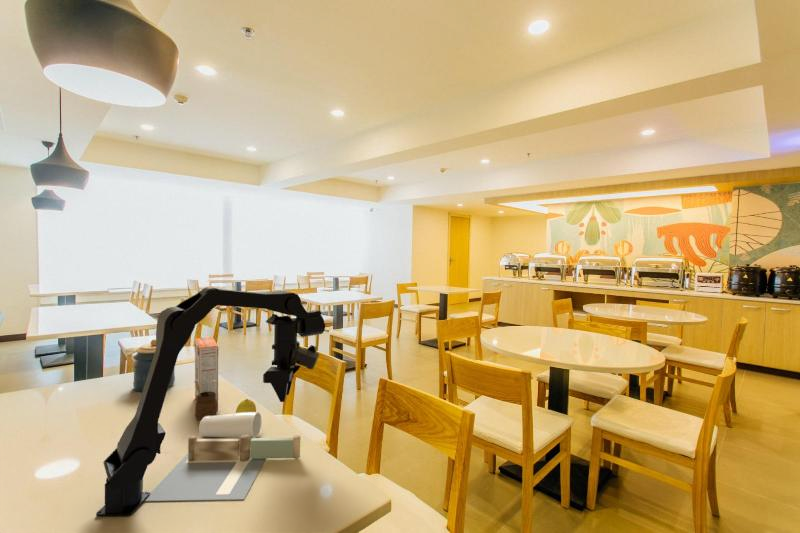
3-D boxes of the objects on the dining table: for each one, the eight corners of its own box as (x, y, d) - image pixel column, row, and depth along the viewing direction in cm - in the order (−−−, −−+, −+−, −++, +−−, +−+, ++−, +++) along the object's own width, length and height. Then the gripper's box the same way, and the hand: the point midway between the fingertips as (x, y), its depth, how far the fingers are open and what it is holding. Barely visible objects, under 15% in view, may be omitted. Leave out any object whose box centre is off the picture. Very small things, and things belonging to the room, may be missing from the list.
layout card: (244, 499, 76) (244, 498, 76) (143, 501, 75) (143, 500, 75) (270, 450, 95) (270, 449, 95) (189, 451, 94) (190, 450, 94)
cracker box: (193, 398, 127) (194, 338, 126) (213, 394, 131) (213, 336, 130) (197, 413, 116) (198, 347, 115) (218, 409, 119) (219, 345, 118)
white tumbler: (197, 445, 99) (253, 443, 99) (194, 422, 98) (251, 420, 98) (210, 430, 106) (262, 428, 105) (208, 408, 104) (260, 407, 104)
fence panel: (249, 459, 90) (250, 439, 90) (252, 455, 92) (252, 435, 92) (299, 458, 91) (299, 438, 91) (300, 454, 93) (301, 435, 92)
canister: (143, 395, 128) (143, 345, 128) (126, 387, 135) (126, 339, 134) (182, 384, 139) (182, 338, 139) (164, 377, 146) (164, 333, 145)
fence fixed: (251, 456, 92) (251, 434, 92) (248, 462, 90) (248, 439, 89) (191, 457, 91) (191, 434, 91) (186, 463, 89) (186, 439, 88)
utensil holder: (220, 415, 114) (221, 377, 114) (200, 423, 109) (201, 383, 109) (210, 410, 118) (210, 373, 117) (190, 417, 112) (190, 379, 112)
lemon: (249, 418, 112) (250, 393, 111) (259, 425, 109) (260, 399, 108) (231, 425, 108) (232, 398, 107) (241, 432, 104) (242, 405, 104)
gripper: (310, 349, 88) (309, 413, 88) (321, 332, 106) (320, 385, 107) (262, 348, 87) (261, 413, 87) (282, 331, 105) (281, 385, 106)
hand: (284, 398), depth 97 cm, fingers open, 4 cm apart
